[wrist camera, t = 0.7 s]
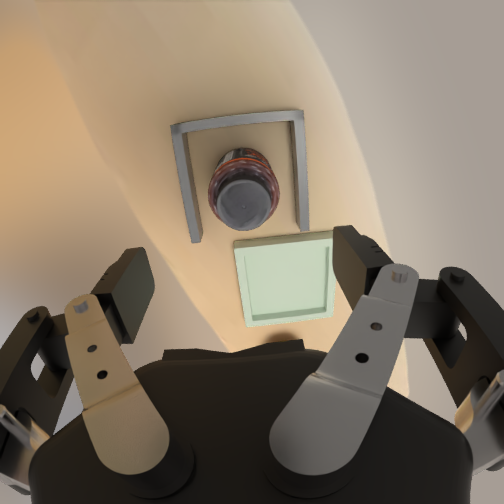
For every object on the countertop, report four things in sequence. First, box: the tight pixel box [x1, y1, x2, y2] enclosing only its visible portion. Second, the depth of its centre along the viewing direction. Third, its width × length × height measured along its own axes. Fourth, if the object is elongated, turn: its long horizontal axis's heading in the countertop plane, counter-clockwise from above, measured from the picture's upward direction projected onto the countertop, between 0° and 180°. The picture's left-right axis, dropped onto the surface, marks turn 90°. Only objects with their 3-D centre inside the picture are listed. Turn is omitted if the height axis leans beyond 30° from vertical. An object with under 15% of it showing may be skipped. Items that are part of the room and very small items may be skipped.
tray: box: [234, 231, 336, 327], centre depth 36 cm, size 12×12×2 cm
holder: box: [170, 110, 309, 243], centre depth 30 cm, size 13×13×2 cm
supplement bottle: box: [208, 148, 280, 231], centre depth 26 cm, size 6×6×11 cm
